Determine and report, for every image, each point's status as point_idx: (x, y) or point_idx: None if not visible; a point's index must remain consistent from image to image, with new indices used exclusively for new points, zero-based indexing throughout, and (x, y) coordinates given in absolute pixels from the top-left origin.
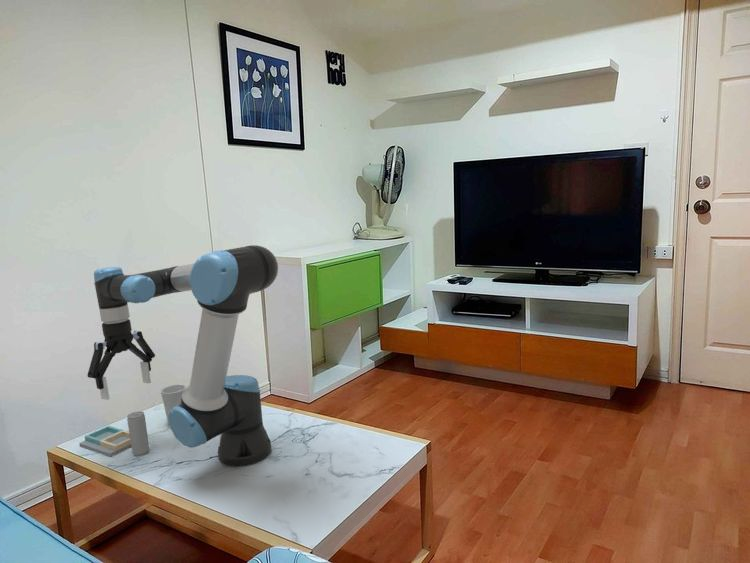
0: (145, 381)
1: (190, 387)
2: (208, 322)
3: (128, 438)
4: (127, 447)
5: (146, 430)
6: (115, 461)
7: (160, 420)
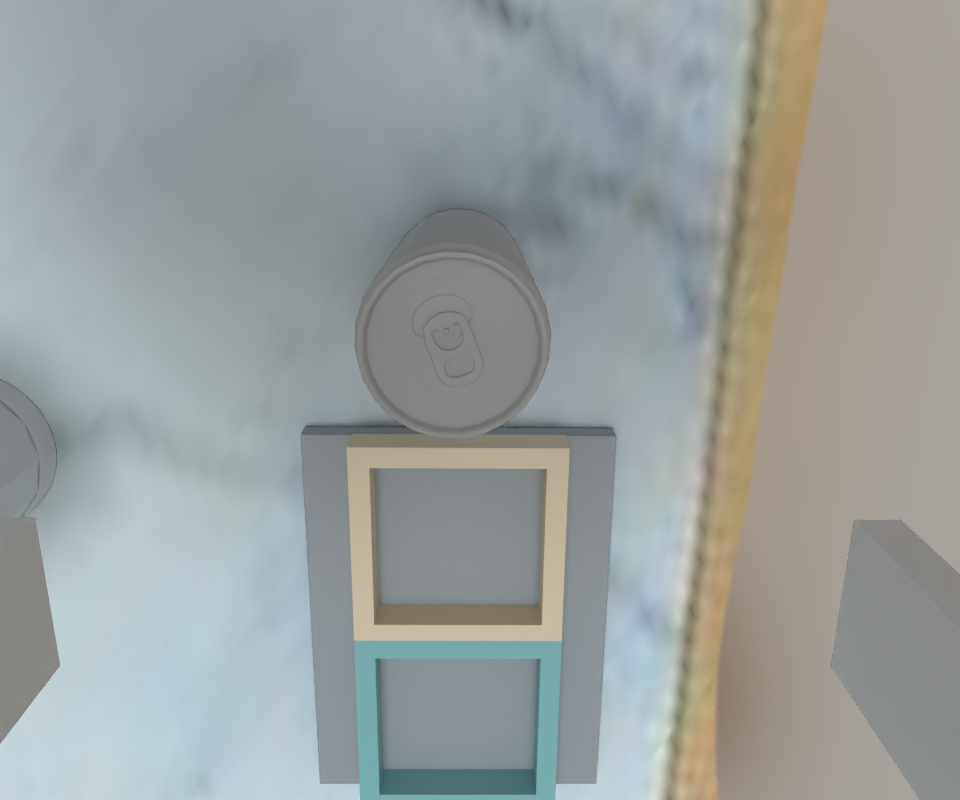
0: (35, 617)
1: None
2: None
3: (386, 533)
4: None
5: (403, 243)
6: (642, 331)
7: None
